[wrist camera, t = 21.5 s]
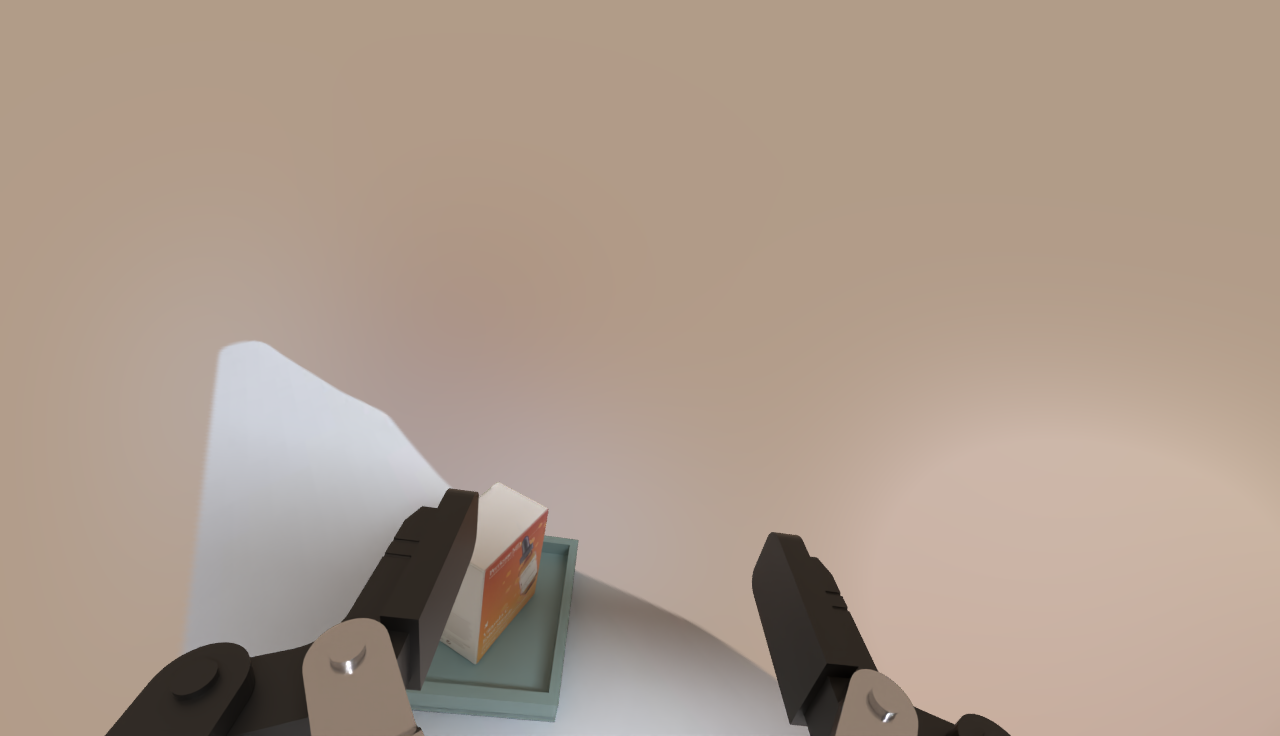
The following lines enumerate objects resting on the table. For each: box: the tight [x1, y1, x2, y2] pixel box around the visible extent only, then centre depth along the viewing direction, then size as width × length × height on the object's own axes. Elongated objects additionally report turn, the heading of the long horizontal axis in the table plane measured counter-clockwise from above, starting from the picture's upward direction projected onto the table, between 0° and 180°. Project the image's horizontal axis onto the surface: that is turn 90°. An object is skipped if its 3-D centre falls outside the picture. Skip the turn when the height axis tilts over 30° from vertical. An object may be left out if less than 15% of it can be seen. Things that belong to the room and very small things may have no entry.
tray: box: [406, 536, 578, 722], centre depth 40 cm, size 15×16×2 cm
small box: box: [440, 482, 548, 664], centre depth 37 cm, size 8×6×10 cm
